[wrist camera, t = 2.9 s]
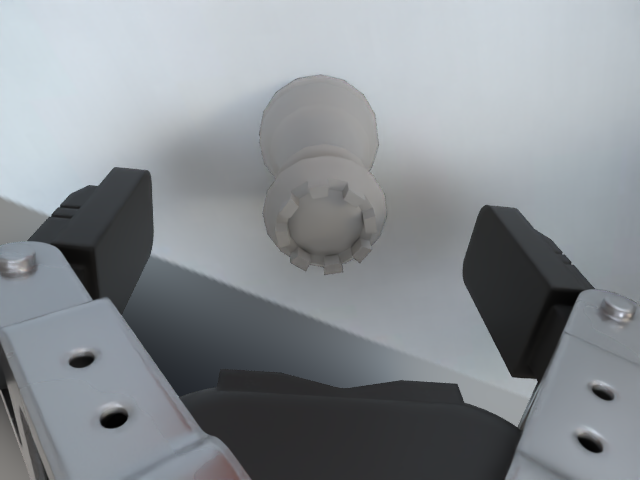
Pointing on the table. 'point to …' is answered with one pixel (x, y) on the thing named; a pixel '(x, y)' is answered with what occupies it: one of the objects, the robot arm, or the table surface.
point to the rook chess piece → (321, 173)
